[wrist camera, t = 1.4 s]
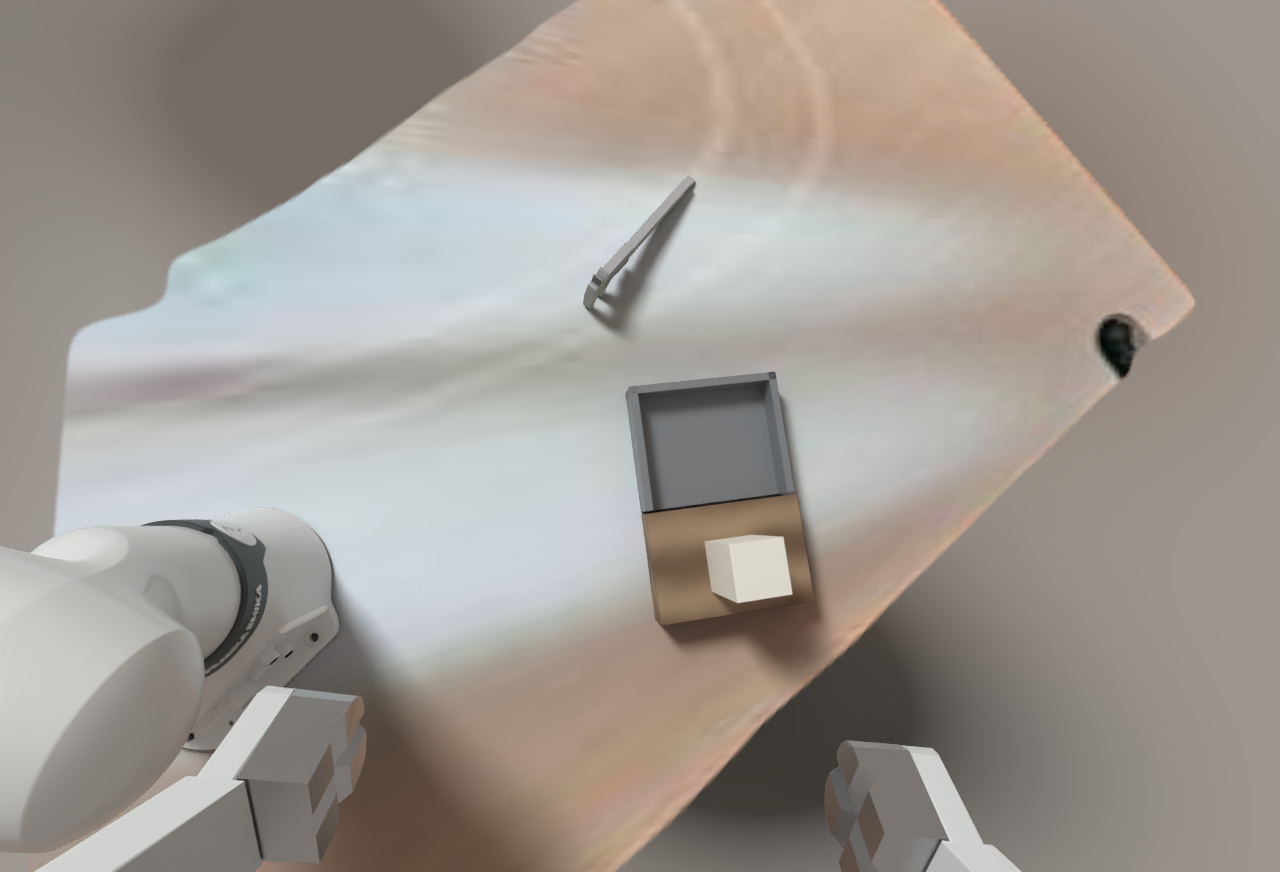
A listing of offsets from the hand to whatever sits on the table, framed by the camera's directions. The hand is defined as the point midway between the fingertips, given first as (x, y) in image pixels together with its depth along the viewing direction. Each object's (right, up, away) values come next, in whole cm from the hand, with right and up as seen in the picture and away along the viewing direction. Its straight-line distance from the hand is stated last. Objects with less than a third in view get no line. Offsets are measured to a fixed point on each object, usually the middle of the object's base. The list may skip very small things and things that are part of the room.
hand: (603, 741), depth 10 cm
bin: (+8, +4, +57) cm, 58 cm away
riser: (+9, -8, +55) cm, 57 cm away
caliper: (+1, +27, +60) cm, 66 cm away
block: (+10, -8, +51) cm, 53 cm away
